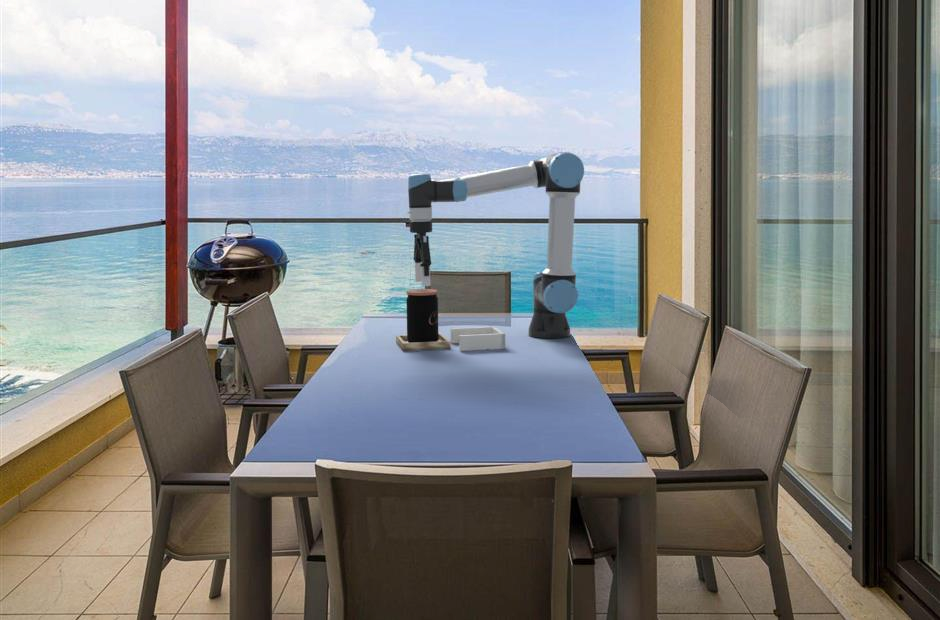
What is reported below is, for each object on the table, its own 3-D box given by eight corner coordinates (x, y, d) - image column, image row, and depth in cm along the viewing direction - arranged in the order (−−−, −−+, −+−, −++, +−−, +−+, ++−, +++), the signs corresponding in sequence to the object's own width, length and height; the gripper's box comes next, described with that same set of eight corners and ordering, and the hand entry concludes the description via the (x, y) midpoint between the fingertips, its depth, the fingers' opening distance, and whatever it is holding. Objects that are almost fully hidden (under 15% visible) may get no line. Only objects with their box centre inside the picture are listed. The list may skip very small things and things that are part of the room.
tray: (441, 340, 300) (441, 333, 299) (450, 348, 284) (450, 341, 284) (396, 342, 296) (396, 335, 296) (403, 351, 281) (402, 343, 280)
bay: (493, 340, 299) (493, 326, 298) (505, 348, 284) (505, 333, 283) (450, 342, 295) (450, 328, 294) (460, 350, 280) (460, 336, 280)
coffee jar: (434, 346, 284) (433, 293, 281) (403, 345, 286) (402, 292, 283) (441, 340, 294) (441, 289, 292) (411, 339, 296) (411, 288, 294)
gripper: (404, 219, 295) (406, 280, 298) (415, 222, 271) (418, 288, 274) (425, 218, 297) (427, 279, 300) (438, 221, 273) (440, 287, 276)
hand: (422, 283), depth 287 cm, fingers open, 13 cm apart
